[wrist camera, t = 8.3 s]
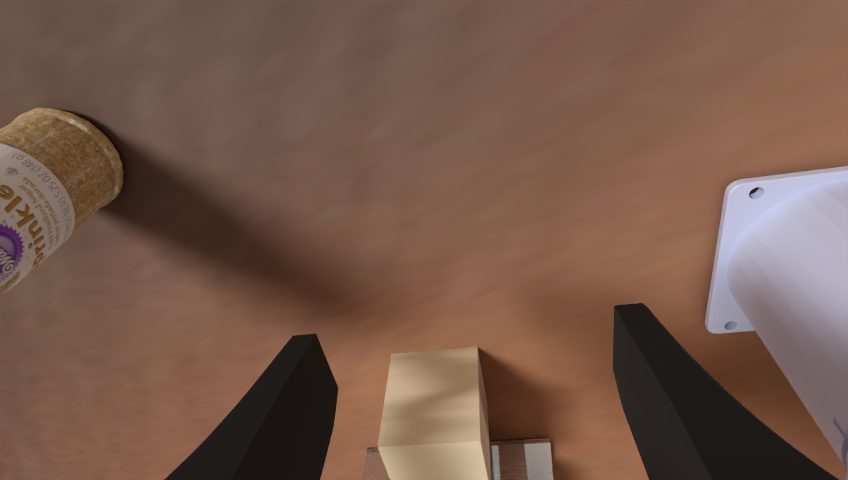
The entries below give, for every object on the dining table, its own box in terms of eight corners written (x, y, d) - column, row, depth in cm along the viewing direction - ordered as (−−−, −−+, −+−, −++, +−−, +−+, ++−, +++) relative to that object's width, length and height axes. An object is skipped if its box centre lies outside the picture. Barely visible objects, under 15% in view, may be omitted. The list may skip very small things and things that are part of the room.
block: (477, 346, 27) (480, 441, 22) (487, 403, 29) (491, 499, 24) (391, 353, 27) (377, 447, 23) (408, 408, 30) (398, 503, 25)
